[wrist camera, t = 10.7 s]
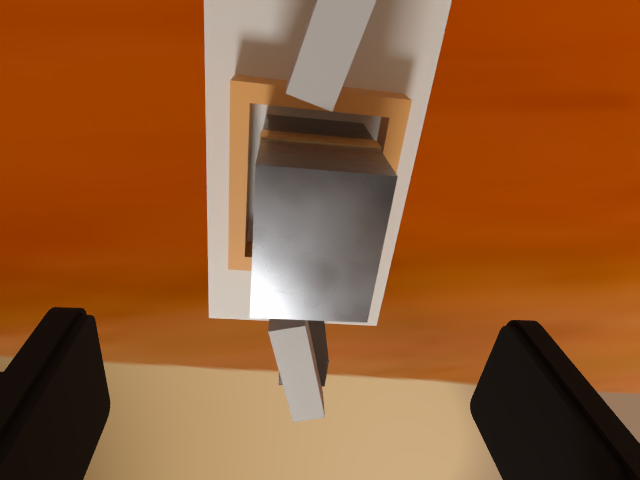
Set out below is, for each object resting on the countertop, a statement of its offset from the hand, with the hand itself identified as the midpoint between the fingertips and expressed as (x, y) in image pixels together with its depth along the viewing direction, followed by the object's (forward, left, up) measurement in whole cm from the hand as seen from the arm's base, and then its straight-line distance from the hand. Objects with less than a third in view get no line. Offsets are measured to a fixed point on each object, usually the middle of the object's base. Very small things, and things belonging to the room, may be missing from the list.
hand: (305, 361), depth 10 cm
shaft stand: (0, 0, -13) cm, 13 cm away
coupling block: (0, 0, -12) cm, 12 cm away
